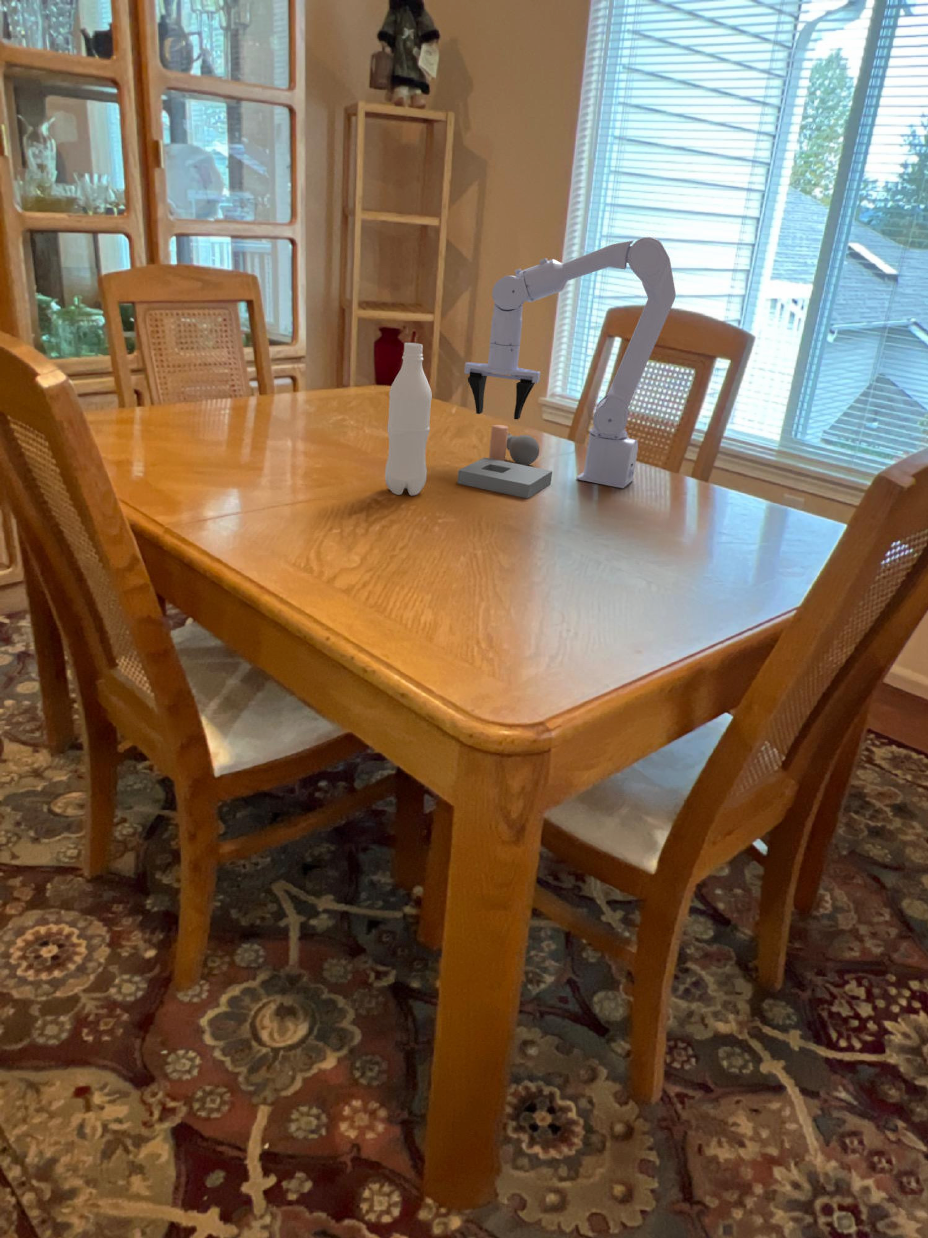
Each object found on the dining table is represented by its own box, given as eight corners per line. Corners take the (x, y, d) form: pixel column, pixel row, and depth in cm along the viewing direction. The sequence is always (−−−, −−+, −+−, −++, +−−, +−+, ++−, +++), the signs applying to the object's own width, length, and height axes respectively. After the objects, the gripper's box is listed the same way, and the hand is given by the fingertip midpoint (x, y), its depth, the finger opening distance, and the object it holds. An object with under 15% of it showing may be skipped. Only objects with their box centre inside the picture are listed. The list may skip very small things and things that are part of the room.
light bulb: (520, 434, 185) (550, 451, 178) (503, 457, 185) (531, 475, 178) (505, 418, 180) (535, 435, 174) (487, 442, 181) (516, 459, 174)
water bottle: (419, 500, 152) (429, 349, 141) (379, 494, 153) (386, 344, 143) (429, 489, 158) (439, 344, 148) (390, 483, 159) (398, 339, 149)
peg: (506, 466, 177) (510, 426, 174) (500, 469, 174) (504, 429, 171) (491, 463, 178) (495, 423, 175) (485, 466, 175) (489, 426, 172)
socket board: (550, 483, 168) (552, 470, 167) (527, 498, 158) (529, 484, 157) (483, 469, 173) (484, 457, 172) (457, 483, 163) (458, 470, 162)
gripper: (546, 345, 169) (538, 417, 175) (474, 336, 173) (468, 407, 179) (538, 349, 163) (530, 423, 169) (463, 340, 167) (458, 413, 172)
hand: (498, 415), depth 173 cm, fingers open, 7 cm apart
